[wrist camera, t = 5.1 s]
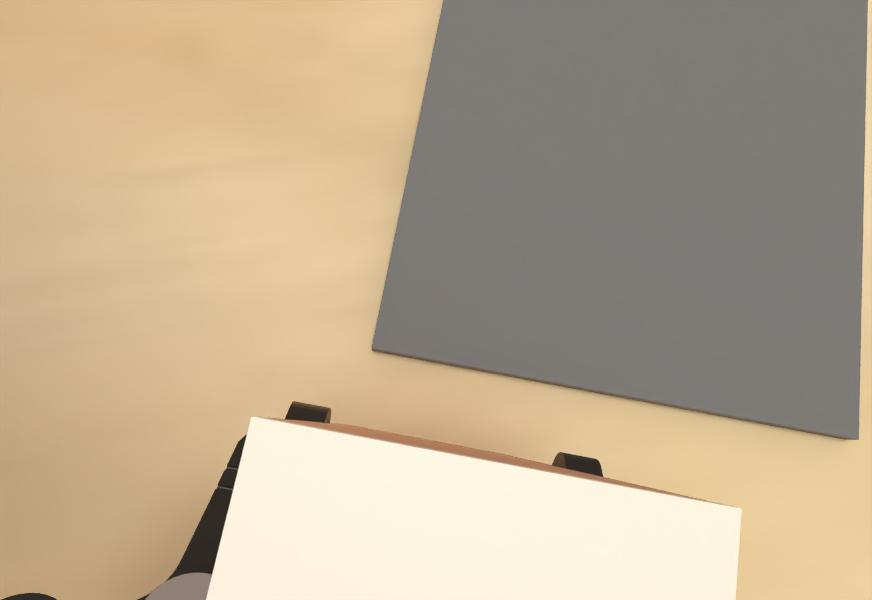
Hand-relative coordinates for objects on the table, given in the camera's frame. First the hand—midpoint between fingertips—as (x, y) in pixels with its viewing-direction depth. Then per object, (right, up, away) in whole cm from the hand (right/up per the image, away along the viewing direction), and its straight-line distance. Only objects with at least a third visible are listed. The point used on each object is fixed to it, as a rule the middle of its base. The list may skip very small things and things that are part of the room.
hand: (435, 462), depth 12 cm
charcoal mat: (+8, +8, +11) cm, 16 cm away
